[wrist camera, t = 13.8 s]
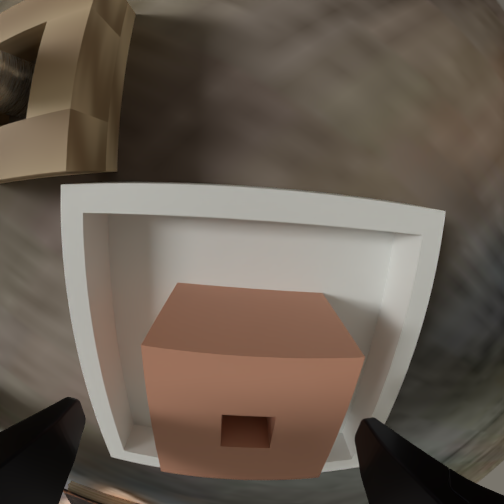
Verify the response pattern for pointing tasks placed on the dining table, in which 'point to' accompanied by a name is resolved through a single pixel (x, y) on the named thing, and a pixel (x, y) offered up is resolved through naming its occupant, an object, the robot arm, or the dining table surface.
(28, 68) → the cylinder
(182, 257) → the tray
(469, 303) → the dining table surface
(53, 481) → the robot arm
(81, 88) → the oak block
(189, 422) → the rust block
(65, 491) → the hardcover book
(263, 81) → the dining table surface
